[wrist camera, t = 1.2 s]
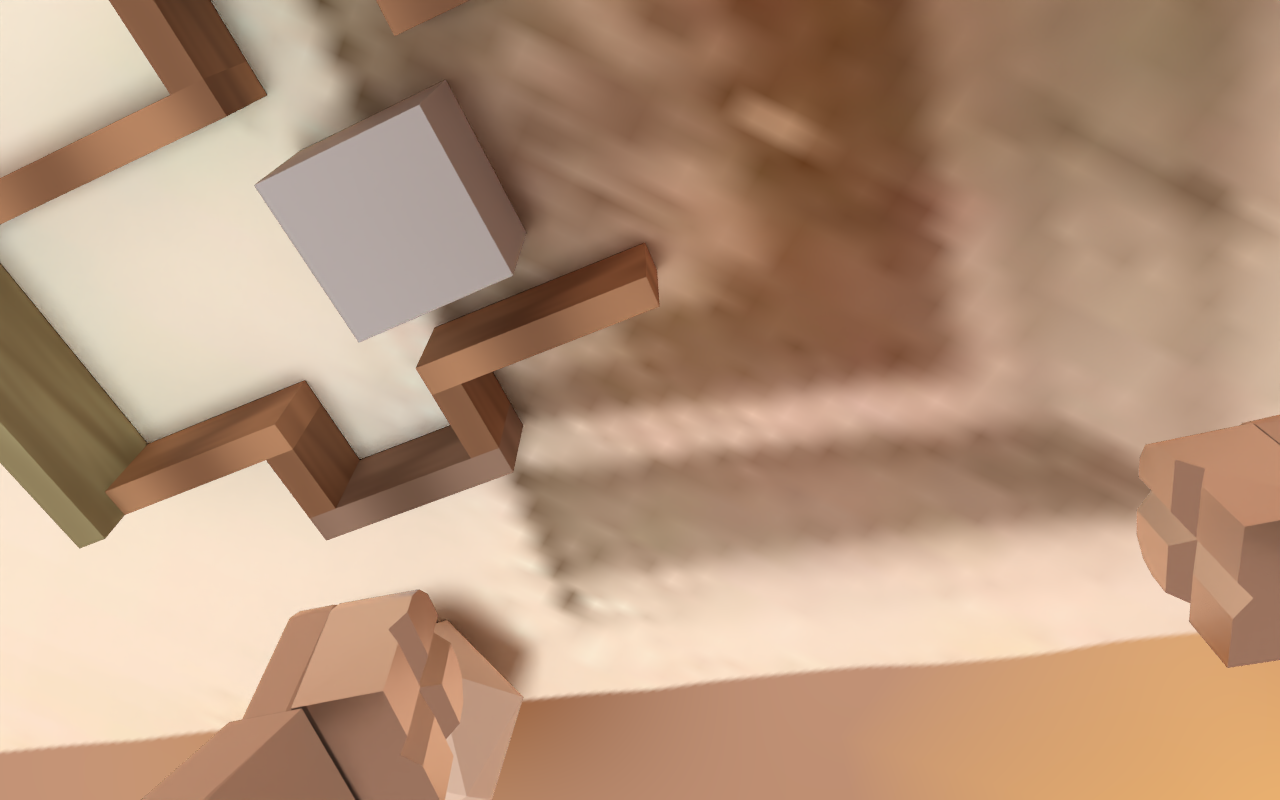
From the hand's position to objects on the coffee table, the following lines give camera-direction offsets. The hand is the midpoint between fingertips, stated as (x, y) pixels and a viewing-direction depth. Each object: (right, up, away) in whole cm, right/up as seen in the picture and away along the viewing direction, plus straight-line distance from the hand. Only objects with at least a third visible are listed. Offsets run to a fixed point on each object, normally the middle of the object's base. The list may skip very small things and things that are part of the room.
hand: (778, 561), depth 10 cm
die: (-12, -11, +34) cm, 38 cm away
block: (-10, +9, +22) cm, 26 cm away
